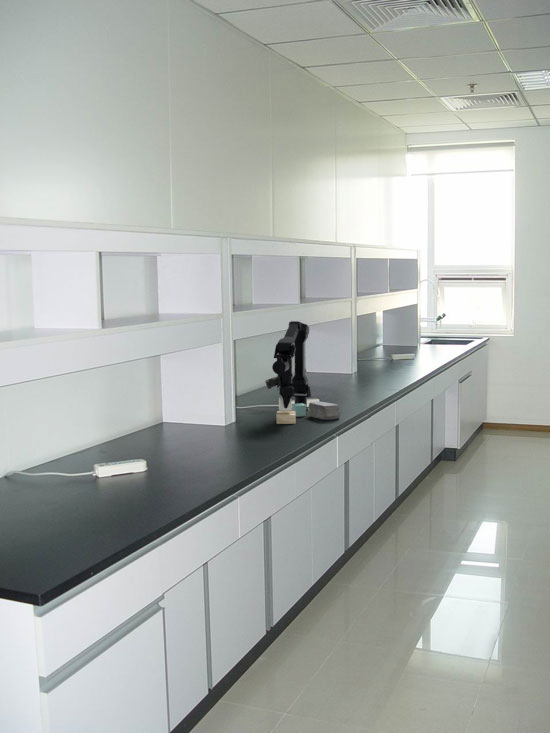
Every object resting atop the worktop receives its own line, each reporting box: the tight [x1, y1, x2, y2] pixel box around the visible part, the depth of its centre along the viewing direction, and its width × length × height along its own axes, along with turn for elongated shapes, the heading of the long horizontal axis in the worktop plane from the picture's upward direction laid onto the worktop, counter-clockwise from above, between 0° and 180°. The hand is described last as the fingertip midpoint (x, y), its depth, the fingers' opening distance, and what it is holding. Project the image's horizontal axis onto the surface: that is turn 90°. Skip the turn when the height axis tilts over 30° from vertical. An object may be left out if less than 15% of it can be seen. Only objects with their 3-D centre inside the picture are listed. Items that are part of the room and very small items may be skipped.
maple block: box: [275, 410, 297, 425], centre depth 345 cm, size 8×8×4 cm
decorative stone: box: [308, 400, 341, 421], centre depth 353 cm, size 15×7×10 cm
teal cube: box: [291, 403, 307, 418], centre depth 359 cm, size 5×5×5 cm
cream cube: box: [278, 396, 292, 411], centre depth 345 cm, size 5×5×5 cm
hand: (285, 407), depth 345 cm, fingers closed on cream cube, 5 cm apart
